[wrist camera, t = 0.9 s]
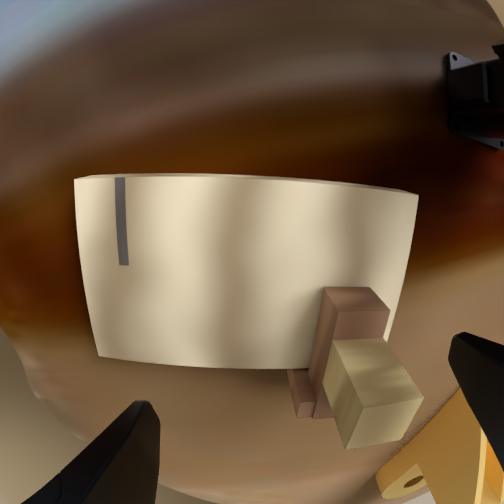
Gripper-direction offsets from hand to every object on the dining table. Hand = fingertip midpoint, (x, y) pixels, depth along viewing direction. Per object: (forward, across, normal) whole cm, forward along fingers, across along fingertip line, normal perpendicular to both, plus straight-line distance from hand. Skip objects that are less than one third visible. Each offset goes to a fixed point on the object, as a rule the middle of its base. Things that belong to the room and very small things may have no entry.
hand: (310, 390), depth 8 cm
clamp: (+13, -17, +30) cm, 37 cm away
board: (+12, +2, +1) cm, 13 cm away
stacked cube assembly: (+12, -3, +6) cm, 14 cm away
